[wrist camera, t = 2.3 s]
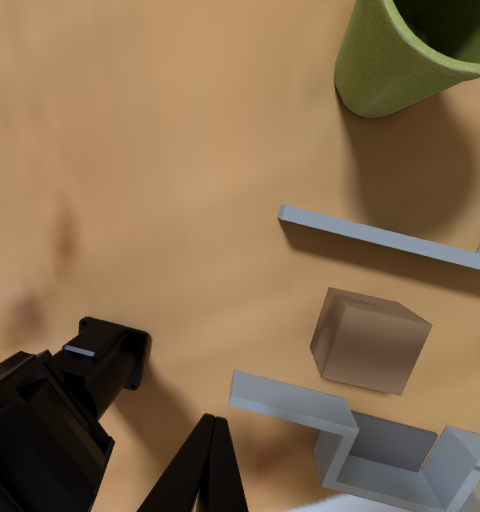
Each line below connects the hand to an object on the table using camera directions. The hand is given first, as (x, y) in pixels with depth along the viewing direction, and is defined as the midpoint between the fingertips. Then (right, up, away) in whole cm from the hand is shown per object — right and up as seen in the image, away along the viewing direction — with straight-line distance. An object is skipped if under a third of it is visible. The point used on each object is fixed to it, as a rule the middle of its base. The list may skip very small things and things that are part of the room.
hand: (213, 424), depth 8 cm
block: (+11, 0, +12) cm, 16 cm away
